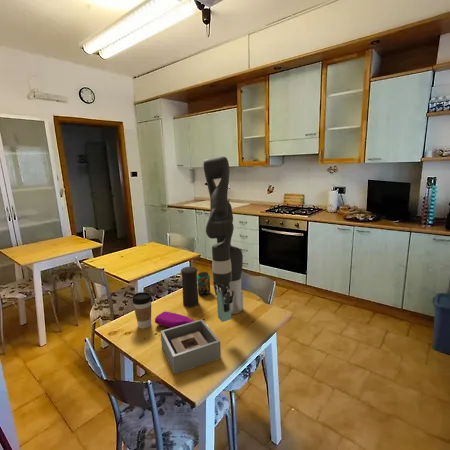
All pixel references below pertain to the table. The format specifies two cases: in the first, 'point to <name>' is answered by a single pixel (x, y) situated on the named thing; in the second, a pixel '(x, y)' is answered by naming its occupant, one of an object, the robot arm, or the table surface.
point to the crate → (194, 355)
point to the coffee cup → (142, 309)
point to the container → (189, 286)
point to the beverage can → (203, 283)
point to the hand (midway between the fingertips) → (224, 308)
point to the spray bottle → (172, 319)
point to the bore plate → (187, 342)
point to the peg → (222, 308)
